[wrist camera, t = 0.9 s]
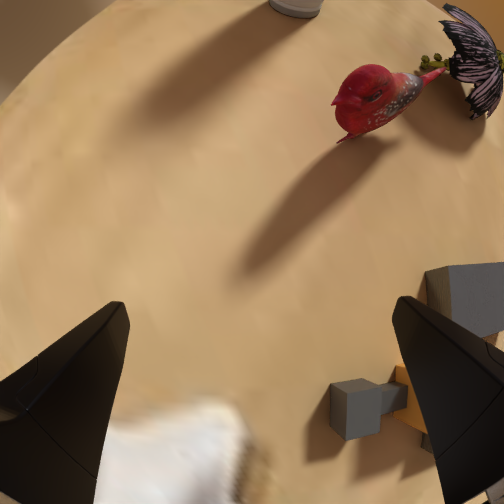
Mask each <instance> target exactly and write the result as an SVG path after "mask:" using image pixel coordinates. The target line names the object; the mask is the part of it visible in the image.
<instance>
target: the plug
mask: <svg viewBox="0 0 504 504" xmlns="http://www.w3.org/2000/svg"><path fill="white" fill-rule="evenodd" d="M390 412H394V416H393V417H394V418H396V419H398V420H400V421H402V422H404V423H406V424H408V425H410V426H412V427H414V428H416V429H418V430H420V431H422V432H424V433H426V434H428V433H427V430H426V426H425V423H424V420H423V417H422V413H421V410H420V407H419V404H418V401H417V398H416V395H415V392H414V389H413V387H412V384H411V381H410V378H409V375H408V373H407V370H406V367H405V364H399V365H396V378H395V381H394V382H390V383H386V384H381V385H377V384H375V383H372V382H370V381H367V380H365V379H362V378H361V379H356V380H350V381H344V382H337V383H331V385H330V427H331V428H332V429H333V430H334V431H336V432H337V433H338V434H339V435H340V436H341V437H342V438H343V439H344V440H345V441H347V440H352V439H356V438H360V437H364V436H368V435H372V434H376V433H379V432H380V419H381V415H383V414H387V413H390Z"/></svg>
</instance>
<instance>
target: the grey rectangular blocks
mask: <svg viewBox="0 0 504 504" xmlns="http://www.w3.org/2000/svg"><path fill="white" fill-rule="evenodd" d="M425 276H426V288H427V302H428V306H429V307H430V308H432V309H434V310H435V311H437V312H439V313H441V314H442V315H444V316H446V317H447V318H449V319H451V320H452V321H454V322H456V323H457V324H459V325H461V326H462V327H464V328H466V329H467V330H469V331H470V332H472V333H474V334H475V335H477V336H479V337H480V338H483V337H486V336H489V335H492V334H494V333H497V332H500V331H503V330H504V262H498V263H483V264H468V265H452V266H445V267H441V268H437V269H433V270H429V271H425ZM421 448H423V449H425V450H426V451H428V452H430V453H432V454H433V451H432V447H431V443H430V440H429V436H428V434H426V433H424V432H423V436H422V443H421Z"/></svg>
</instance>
